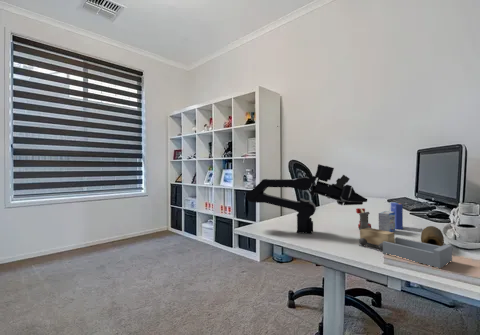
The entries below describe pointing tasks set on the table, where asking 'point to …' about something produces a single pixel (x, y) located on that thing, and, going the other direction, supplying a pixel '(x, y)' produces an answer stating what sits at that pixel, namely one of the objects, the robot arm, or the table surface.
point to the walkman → (397, 214)
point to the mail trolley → (373, 233)
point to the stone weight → (432, 236)
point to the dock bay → (418, 251)
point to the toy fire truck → (359, 213)
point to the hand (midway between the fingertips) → (364, 202)
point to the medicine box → (387, 221)
